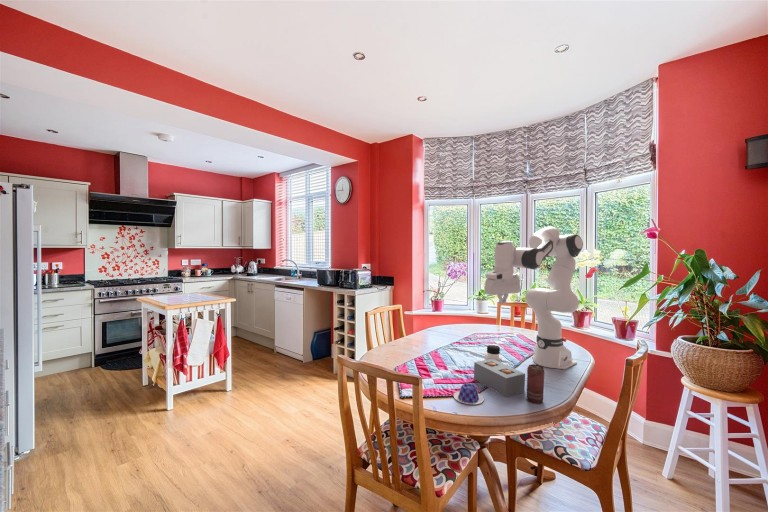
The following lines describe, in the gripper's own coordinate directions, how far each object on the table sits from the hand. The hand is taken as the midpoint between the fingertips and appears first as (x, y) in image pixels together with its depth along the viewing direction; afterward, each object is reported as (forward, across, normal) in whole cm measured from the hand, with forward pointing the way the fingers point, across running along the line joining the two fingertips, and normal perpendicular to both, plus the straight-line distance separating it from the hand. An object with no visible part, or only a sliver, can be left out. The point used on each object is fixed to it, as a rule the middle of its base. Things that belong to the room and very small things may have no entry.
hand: (502, 303), depth 160 cm
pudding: (+35, +32, +14) cm, 49 cm away
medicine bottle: (+34, +1, -4) cm, 35 cm away
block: (+34, +12, +10) cm, 38 cm away
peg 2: (+34, +12, +15) cm, 39 cm away
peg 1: (+34, +12, +6) cm, 36 cm away
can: (+34, +9, +27) cm, 45 cm away
